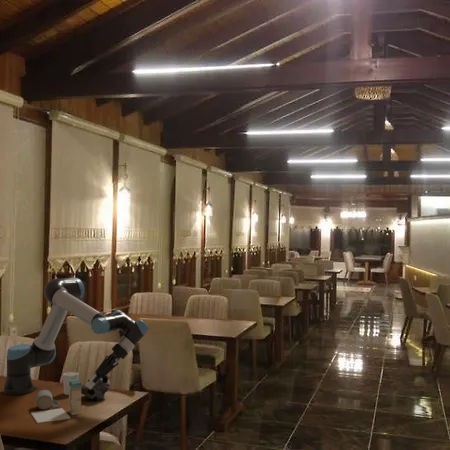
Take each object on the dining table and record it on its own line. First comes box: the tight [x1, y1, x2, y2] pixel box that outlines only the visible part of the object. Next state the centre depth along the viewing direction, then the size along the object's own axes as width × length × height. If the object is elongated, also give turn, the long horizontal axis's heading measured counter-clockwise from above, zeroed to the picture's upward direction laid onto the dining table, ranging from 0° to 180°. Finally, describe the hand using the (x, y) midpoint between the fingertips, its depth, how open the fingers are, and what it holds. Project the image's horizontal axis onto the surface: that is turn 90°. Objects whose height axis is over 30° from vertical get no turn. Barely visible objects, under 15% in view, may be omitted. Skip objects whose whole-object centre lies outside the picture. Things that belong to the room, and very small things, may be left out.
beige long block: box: [68, 379, 82, 416], centre depth 261 cm, size 6×4×14 cm, turn 28°
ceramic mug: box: [35, 389, 61, 411], centre depth 268 cm, size 11×8×8 cm
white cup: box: [62, 371, 80, 396], centre depth 293 cm, size 8×8×10 cm
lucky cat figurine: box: [81, 375, 111, 402], centre depth 285 cm, size 15×12×14 cm
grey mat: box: [30, 407, 71, 424], centre depth 256 cm, size 16×14×1 cm
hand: (87, 387), depth 264 cm, fingers closed
